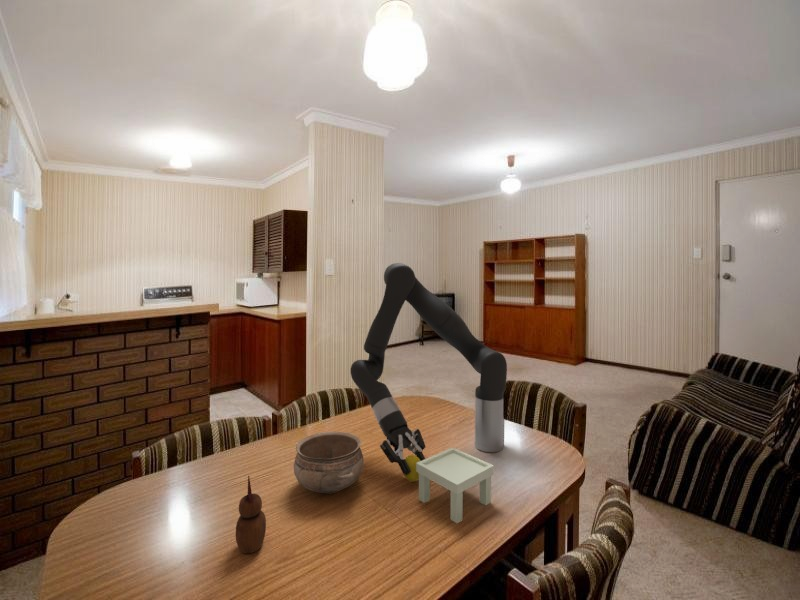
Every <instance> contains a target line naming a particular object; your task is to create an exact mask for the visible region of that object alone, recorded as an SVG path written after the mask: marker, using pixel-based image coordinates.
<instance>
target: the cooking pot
mask: <svg viewBox="0 0 800 600" xmlns="http://www.w3.org/2000/svg"><path fill="white" fill-rule="evenodd" d="M361 445H362V441H361V438H359V436H357V435H355V434H353V433H349V432H344V431H323V432H318V433H314V434H311V435H308V436H305V437H304V438H301V440H299V441H298V442H297V444H296V446H295V450H296V455H295V457H294V458H295V459H294V463H293V473H294V476H295V479H296V480H297V482H298V483H299V484H300V485H301V486H302V487H304V488H305V489H307V490H309V491H311V492H315V493H319V494H320V493H321V494H324V495H331V494H332V495H333V494H335V493H338V492H340V491H342V490H344V489H346V488H348V487H350V486H351V485H353V484H354V483H355V482H356V481H357V480H358V479H359V477H360V476H361V474H362V472H363V469H364V465H365V464H364V462H365V461H364V460H365V459H364V455H363V452H362V449H361Z"/></svg>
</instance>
